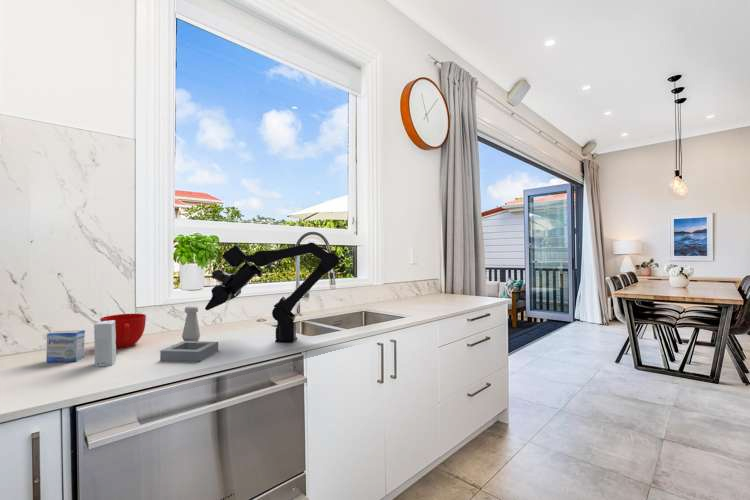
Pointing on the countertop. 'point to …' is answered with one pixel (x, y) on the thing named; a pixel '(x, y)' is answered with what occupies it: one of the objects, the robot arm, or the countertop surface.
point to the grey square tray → (189, 351)
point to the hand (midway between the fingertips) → (210, 307)
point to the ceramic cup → (127, 328)
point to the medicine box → (65, 346)
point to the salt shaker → (191, 325)
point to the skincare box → (105, 343)
